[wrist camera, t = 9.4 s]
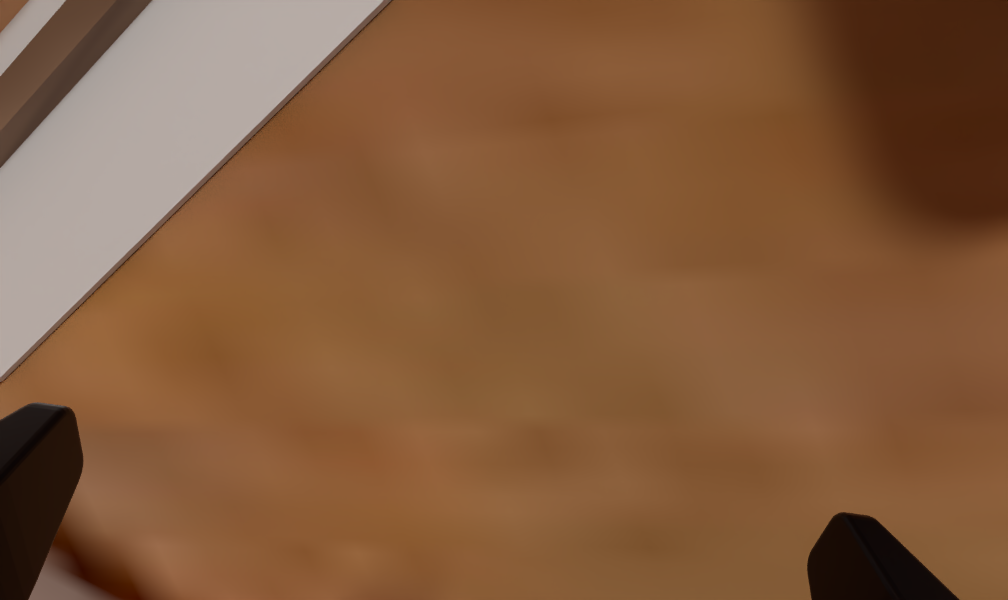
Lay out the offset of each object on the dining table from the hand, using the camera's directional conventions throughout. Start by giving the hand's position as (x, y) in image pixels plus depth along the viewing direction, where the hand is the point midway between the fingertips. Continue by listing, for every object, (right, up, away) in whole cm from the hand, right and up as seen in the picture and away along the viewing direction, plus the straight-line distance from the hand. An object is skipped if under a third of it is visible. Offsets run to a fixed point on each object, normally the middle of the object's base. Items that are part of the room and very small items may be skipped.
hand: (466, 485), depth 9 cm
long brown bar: (-12, +9, +13) cm, 20 cm away
